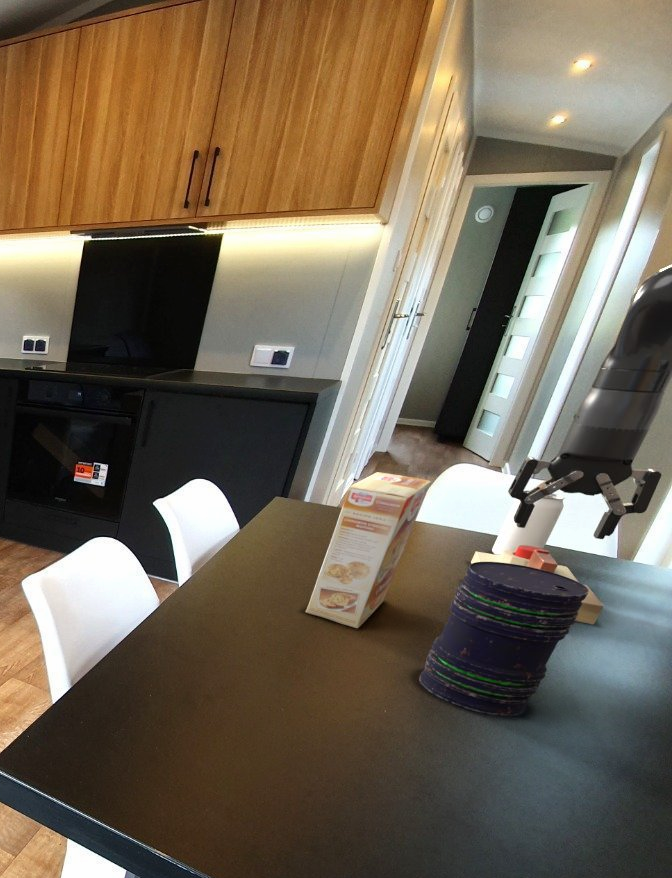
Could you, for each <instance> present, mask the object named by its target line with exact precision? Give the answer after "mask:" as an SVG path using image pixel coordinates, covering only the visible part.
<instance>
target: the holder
mask: <svg viewBox="0 0 672 878" xmlns="http://www.w3.org/2000/svg"><path fill="white" fill-rule="evenodd" d="M555 561H556V559H554V558H553V556H552V555H551V554H550V551H549V550H547V549H544V550H542V549H536V550H534V552H533V554H532V556H531V558H530V560H529V562H528V564H527V567H532V568H537V569H541V570H545V571H549V572H552V573H554V571H555V569H556V567H557V565H559V564H558V563H557V561H556V562H555Z"/></svg>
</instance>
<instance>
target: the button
mask: <svg viewBox="0 0 672 878" xmlns="http://www.w3.org/2000/svg"><path fill="white" fill-rule="evenodd" d="M536 549H541V548H538V547H533V546H525V545H521V546H518V548H517V550H516V552H515V556H518V557H521V558H525V559H529V560H530V558H531V556H532V554H533V552H534V550H536ZM542 550H545V548H543V549H542Z"/></svg>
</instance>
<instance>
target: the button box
mask: <svg viewBox="0 0 672 878" xmlns="http://www.w3.org/2000/svg"><path fill="white" fill-rule="evenodd" d="M515 552H516V550H505V551H503V552H502V554H501V556H500V555H495V554H494V553H487V552H482V551H475V552H474V555H473V557H472V559H471V561H470V564H472V563H475V562H501V563H510V564H516V565H522V566H527V564H528V562H529V559H525V558H521V557H518V556H515ZM555 562H556V563H557V561H556V560H555ZM554 573H556V574H559V575H562V576H565V577H568V578H570V579H573V580H575V581H577V582H579V581H578V579H577V578H576V577H575V575H574V574H573V572H572V571H571V570H570V568H569V567H568V566H565V565H560V564H558V565H557V567H556V569H555V571H554Z"/></svg>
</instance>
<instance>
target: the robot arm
mask: <svg viewBox="0 0 672 878" xmlns="http://www.w3.org/2000/svg"><path fill="white" fill-rule="evenodd" d="M629 301H630V302H629V304H630V305H629V308H628V310H627V313H626V316H625V318H624V320H623V322H622V325H621V328H620V329H619V332H618V335H617V337H616V340H615V342H614V344H613V346H612V347H611V349H610V350H609V351H608V352H607V354H606V356H605V357H604V359H603V361H602V362H601V364H600V367H599V369H598V371H597V373H596V375H595V377H594V379H593V382H592V384H591V387H590V388H589V390H588V392H587V393H586V395H585V397H584V398H583V400H582V401H581V403H580V405H579V407H578V409H577V410H576V411H575V413H574V415H573V419H572V421H571V424H570V426H569V428H568V431H567V433H566V435H565V437H564V439H563V442H562V443H561V446H560V449H558V450H559V451H558V452H557V455H556V456H555V457H554V458H553V459H551V460H544V459H537V458H535V457H534V456H527V457H526V458H524V460H523V461H522V463H521V466H520V467H519V469H518V471H517V472H516V475H515V477H514V479H513V481H512V483H511V485H510V487H509V489H508V491H507V492H508V494H509V496H510V497H511V498H513V499H518V500H520V504H519V506H518V509H517V511H516V513H515V515H514V522H515V523H517V527H520V528H525V526H526V524H527V522H528V520H529V517H530V515H531V513H532V511H533V509H534V506H535V505H534V504H533V503H534V502H536V501H538V500H540V499H542V498H543V497H545V496H547V495H550V494H555V493H556V492H557V491H561V492H563V493H567V494H582V495H585V496H591V497H594V496H596V495H601V497H602V499H603V500H604V502H605V504H606V505H607V508H608V510H607V511H604V512H603V514H602V517H601V518H600V521H599V522H598V525H597V527H596V528H595V531H594V532H593V537H594V538H595V539H597V540H604V539H605V537H610V536H612V534H614V532H615V531H616V528H617V527H618V524H619V523H620V521H621V519H622V517H624V516H625V515H628V514H644V513H645V512H646V511H647V510H648V507H649V505H650V503H651V500H652V498H653V496H654V494H655V492H656V489H657V487H658V484H659V482H660V480H661V478H662V473H661V472H660V471H659V470H657V469H655V468H646V469H638V468H637V469H636V468H633V467H632V465H633V462H634V460H635V458H636V456H637V454H638V453H639V451H640V448H641V447H642V445H643V443H644V441H645V438H646V436H647V434H648V433H649V431H650V429H651V427H652V426H653V423H654V421H655V419H656V417H657V415H658V414H659V411H660V409H661V406H662V402H663V399H664V396H665V394H666V391H667V390H668V387H669V386H670V383H671V382H672V264H670V265H668V266H666V267H664V268H662V269H660V270H658V271H656V272H653V273H652V274H651V275H649V276H647V277H646V278H645V279H643V281H641V282H640V283H639V284H638V286H637V287H635V289H634V291H633V293H632V295H631V297H630V300H629ZM545 469H546V470H547V471H548V473H549V475H550V477H549V478H547V479H546V480H544V481H542V482H541V483H539V484H538V485H537V486H535V487H534V488H532V489H531V490H528V491H529V492H525V491H526V490H525V489H526V487H527V485H528V483H529V481H530V479H531V477H532V476H533V475H537V474H539V473H540V472H541V471H542V470H545ZM630 478H633V480H632V482H633V483H634V484H635V485H636V488H635V490H634V493H633V495H632V497H631V500H630V501H629V502H626V503H623V501H622V498H621V497H620V494H619V492H618V491H617V489H616V486H617V485H620V484H621V483H622V482H624V481H626V480H628V479H630Z"/></svg>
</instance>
